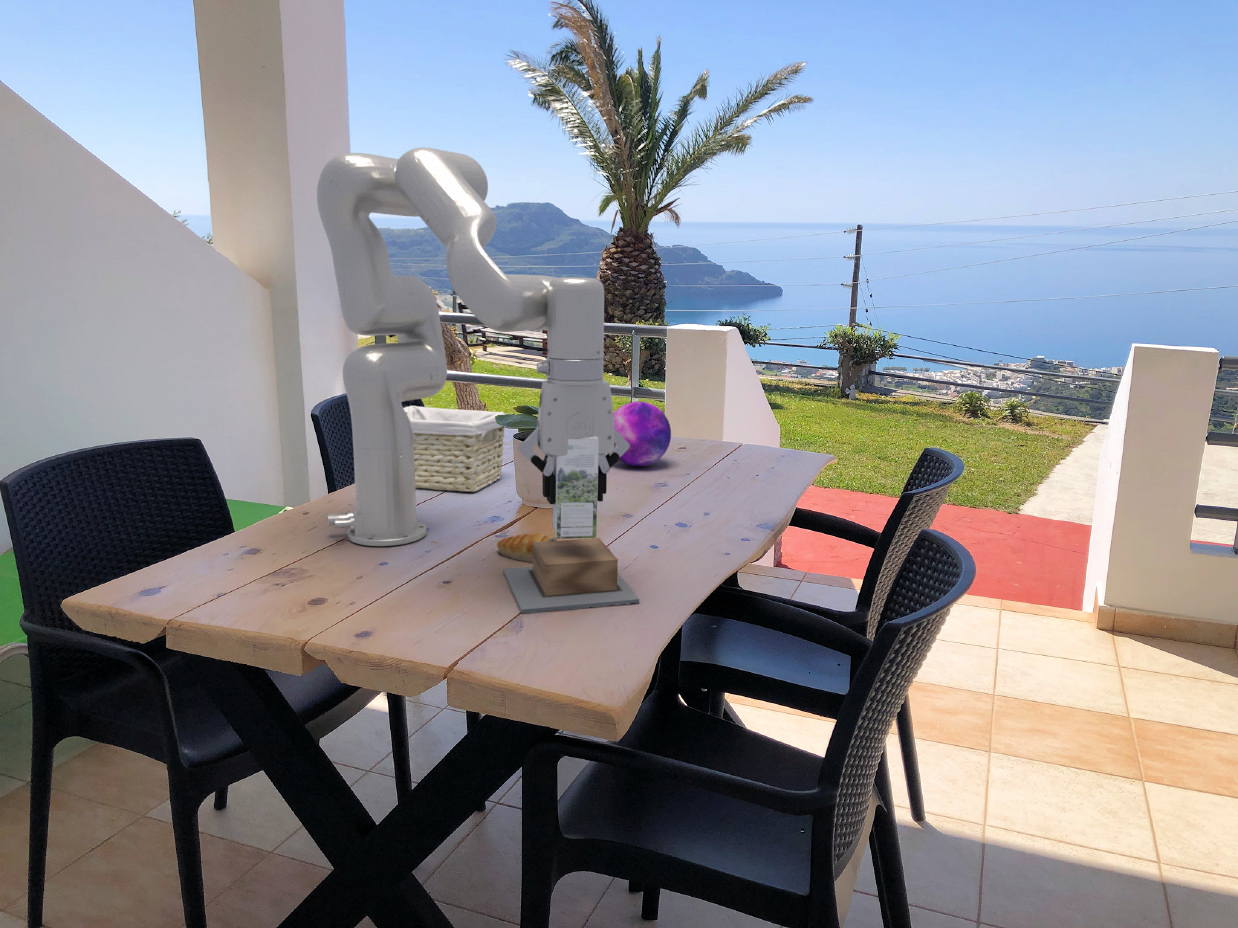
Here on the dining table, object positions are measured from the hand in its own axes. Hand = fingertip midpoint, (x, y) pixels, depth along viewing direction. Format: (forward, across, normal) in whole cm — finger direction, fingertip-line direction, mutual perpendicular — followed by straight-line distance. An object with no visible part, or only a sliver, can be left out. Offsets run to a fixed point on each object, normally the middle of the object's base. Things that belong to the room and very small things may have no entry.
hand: (574, 499), depth 118 cm
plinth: (+12, 0, 0) cm, 12 cm away
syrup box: (+5, 0, 0) cm, 5 cm away
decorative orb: (+13, +32, +72) cm, 80 cm away
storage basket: (+13, -13, +65) cm, 68 cm away
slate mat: (+12, -1, -1) cm, 13 cm away
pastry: (+13, -4, +14) cm, 20 cm away
